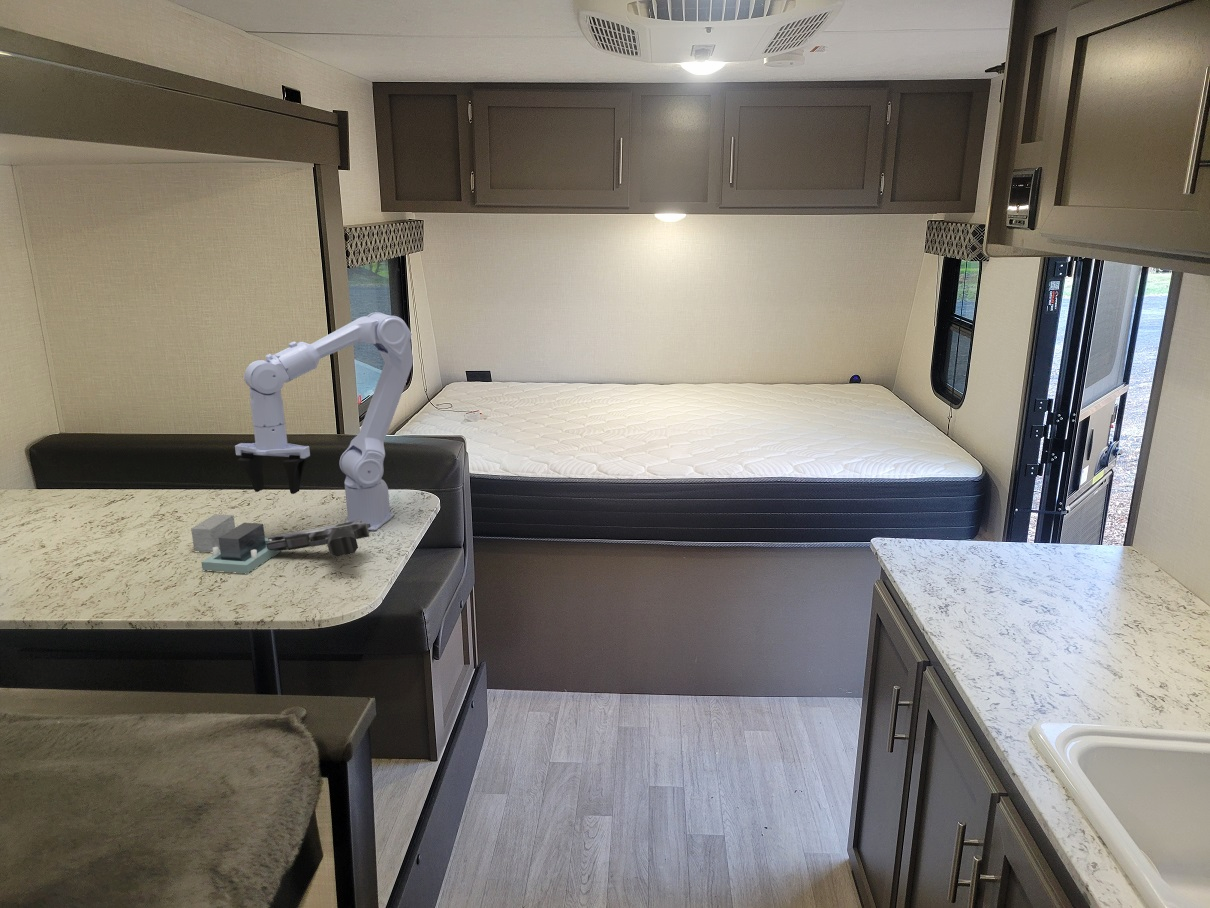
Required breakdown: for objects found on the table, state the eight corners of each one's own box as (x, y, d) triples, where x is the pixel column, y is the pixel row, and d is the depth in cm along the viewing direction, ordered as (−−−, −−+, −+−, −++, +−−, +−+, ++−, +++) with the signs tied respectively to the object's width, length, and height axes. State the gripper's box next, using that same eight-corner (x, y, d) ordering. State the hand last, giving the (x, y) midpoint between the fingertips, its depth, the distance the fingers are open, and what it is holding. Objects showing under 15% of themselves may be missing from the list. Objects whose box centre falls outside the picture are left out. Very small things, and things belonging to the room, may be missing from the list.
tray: (244, 544, 165) (242, 529, 164) (286, 547, 164) (284, 532, 163) (202, 571, 153) (200, 554, 152) (247, 574, 151) (245, 557, 151)
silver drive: (217, 537, 169) (214, 514, 168) (236, 538, 169) (233, 515, 168) (194, 552, 162) (191, 528, 160) (214, 553, 161) (210, 529, 160)
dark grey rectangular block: (241, 564, 154) (238, 539, 152) (221, 563, 154) (218, 537, 153) (266, 548, 161) (263, 523, 160) (247, 546, 162) (244, 522, 161)
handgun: (353, 535, 148) (374, 515, 159) (242, 555, 149) (270, 534, 161) (358, 552, 148) (378, 531, 160) (247, 572, 150) (275, 549, 162)
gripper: (222, 427, 158) (231, 495, 162) (293, 430, 155) (300, 499, 159) (244, 418, 165) (252, 484, 168) (312, 421, 162) (319, 488, 166)
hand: (277, 491), depth 164 cm, fingers open, 7 cm apart
